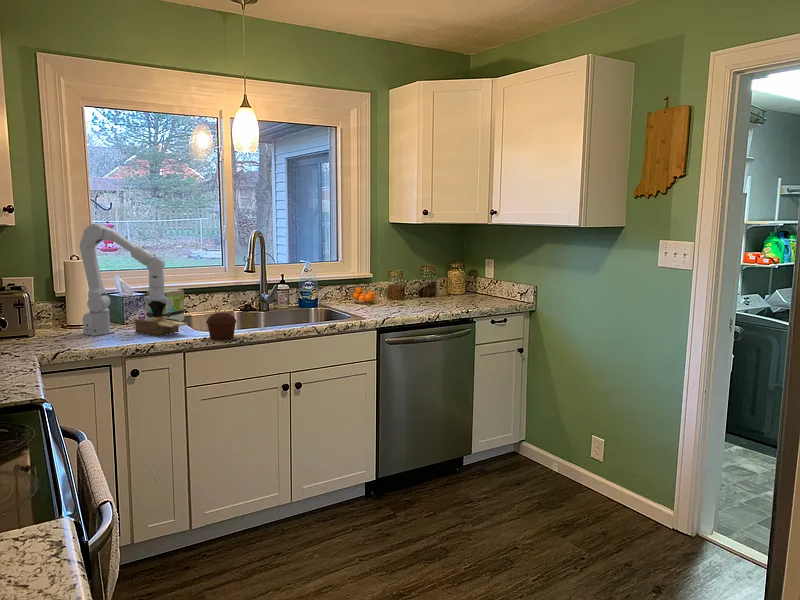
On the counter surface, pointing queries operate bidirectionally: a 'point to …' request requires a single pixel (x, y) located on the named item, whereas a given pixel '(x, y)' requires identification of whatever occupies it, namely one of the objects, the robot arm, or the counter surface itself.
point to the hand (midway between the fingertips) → (157, 319)
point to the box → (154, 327)
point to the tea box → (170, 305)
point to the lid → (167, 322)
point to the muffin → (221, 326)
